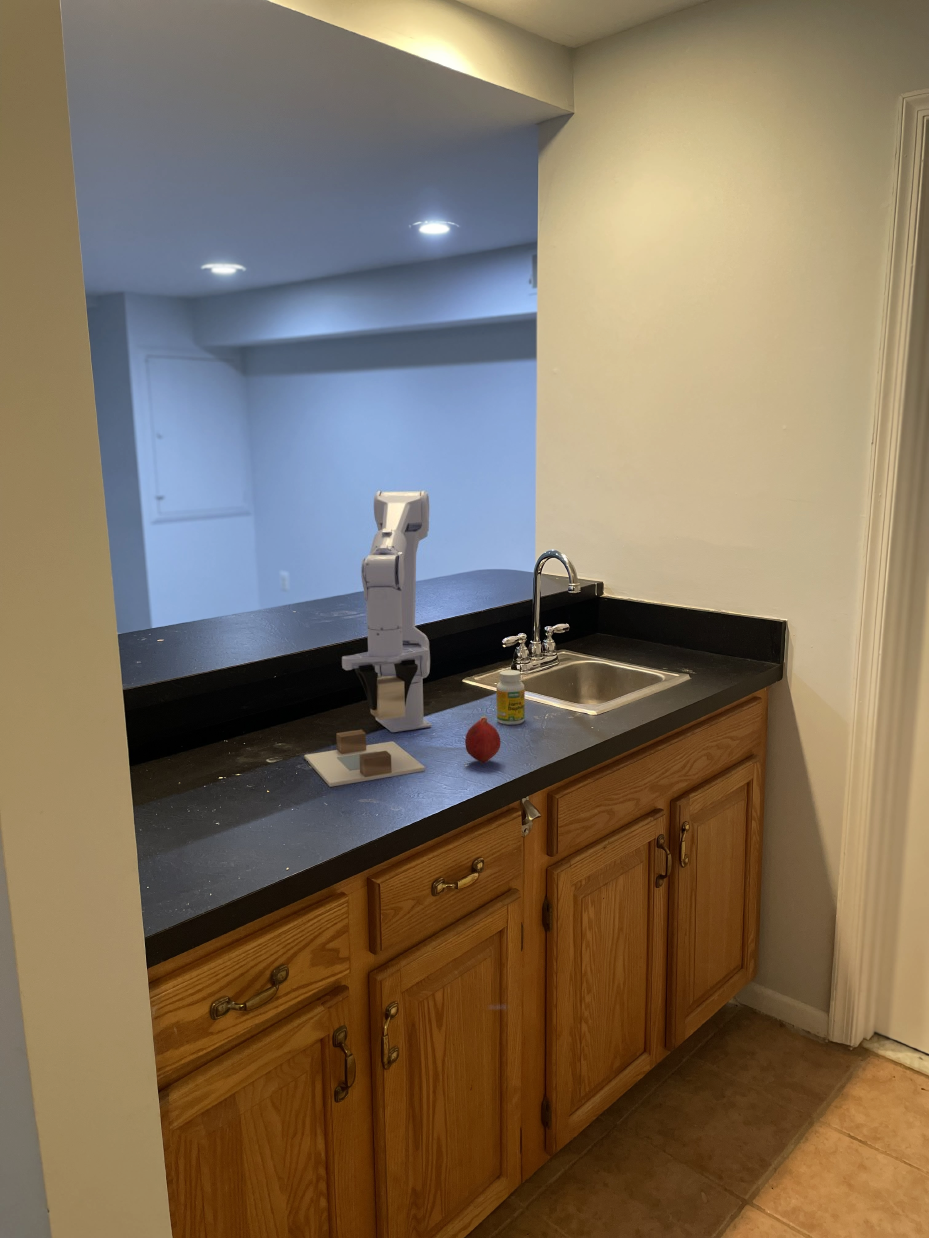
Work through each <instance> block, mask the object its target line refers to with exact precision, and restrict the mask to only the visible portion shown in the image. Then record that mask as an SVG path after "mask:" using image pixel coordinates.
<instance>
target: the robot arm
mask: <svg viewBox="0 0 929 1238" xmlns="http://www.w3.org/2000/svg"><path fill="white" fill-rule="evenodd" d="M429 497H430V496H429V494H428V492H427V491H426V490H425V489H424V490H421V491H420V490H416V491H415V490H414V491H413V490H412V491H411V490H409V491H402V490H401V491H381V490H378V491H376V493H375V494H374V498H373V515H374V520H375V523H376V526H377V527H376V528H377V533H375V534H374V536H373V540H372V544H371V548H370V552H369V554H368V555H367V557H366V558H365V557H363V558H362V562H361V569H360V571H361V572H360V574H361V575H360V576H361V582H362V588H363V598H364V601H366V621H367V622H366V625H367V626H366V629H367V651H366V652H361V653H355V654H351V655H343V656H341V666H342V667H341V668H342V669H343V670H345V671H351V670H353V669H354V672H355V673H356V675H357V676H358V679H359V680H360V683H361V685H362V687H363V688H362V689H363V690H364V692H365V693H364V694H365V696H366V699H367V704H368V708H369V709H372V710H377V695H376V686H377V678H381V677H389V676H396V677H397V678H399V679H401V680H402V681H404V693H405V717H398V718H391V719H385V720H379V719H377V718H376V717H375V720H376V721H377V722H378V723H379V724H380V725H382V726H383V727H385V728H386V729H387V730H388V731H389V732H391V733H397V732H398V733H399V732H404V731H413V730H418V729H424V728H426V729H427V728H431V727H432V723H430V722H429V721H427V720H426V719H425V718H424V693H423V692H424V691H423V689H424V687H423V679H425V678H427V677H428V676H429V674H430V669H431V654H430V653H431V652H430V651H431V650H430V641H429V639H428V636H427V635H426V634H425V633H424V632H422V631H421V630H419V629H418V628H417V627H416V626H415V625H416V588H417V587H416V581H417V573H416V572H417V551H418V547H419V543H420V541H422V540H423V539H425V538H427V537H428V533H429V529H430V498H429Z"/></svg>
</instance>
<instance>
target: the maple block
mask: <svg viewBox="0 0 929 1238" xmlns="http://www.w3.org/2000/svg"><path fill="white" fill-rule="evenodd" d="M376 695H377V710H372V709H370V708H369V709H370V710H369V711H370V714H371V715H372V716H374V717H375V719H376V718H377V719H379V720H385V719H391V718H398V717H405V693H404V681H402V680H401V679H399V678H397V677H396V676H389V677H377V686H376Z"/></svg>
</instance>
